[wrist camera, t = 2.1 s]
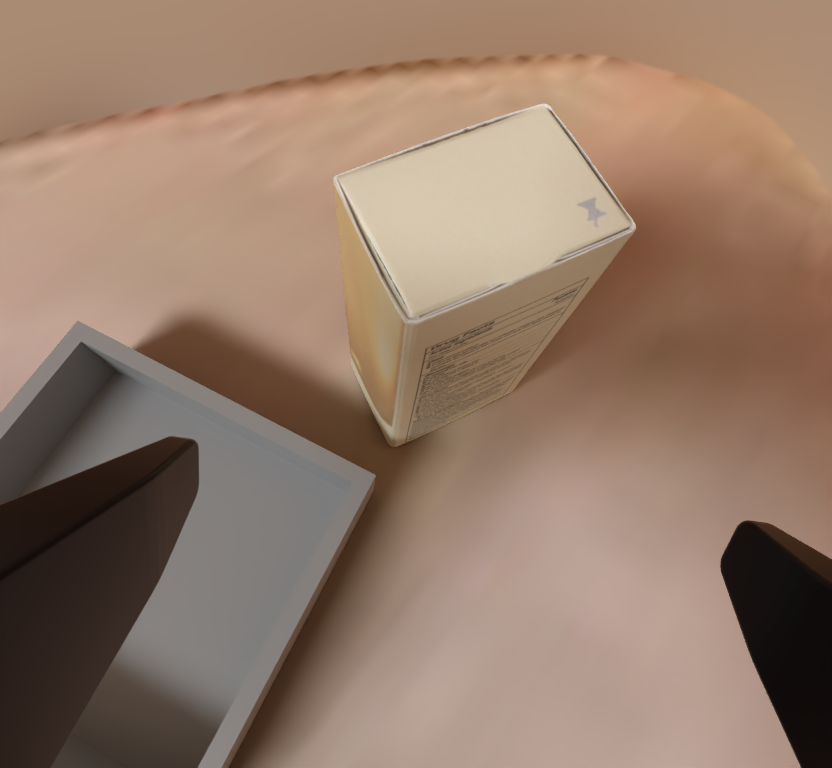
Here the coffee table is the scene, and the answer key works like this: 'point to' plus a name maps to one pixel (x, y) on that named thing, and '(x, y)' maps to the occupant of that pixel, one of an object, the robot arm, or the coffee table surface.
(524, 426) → the coffee table surface
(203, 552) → the tray
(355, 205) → the skincare box
